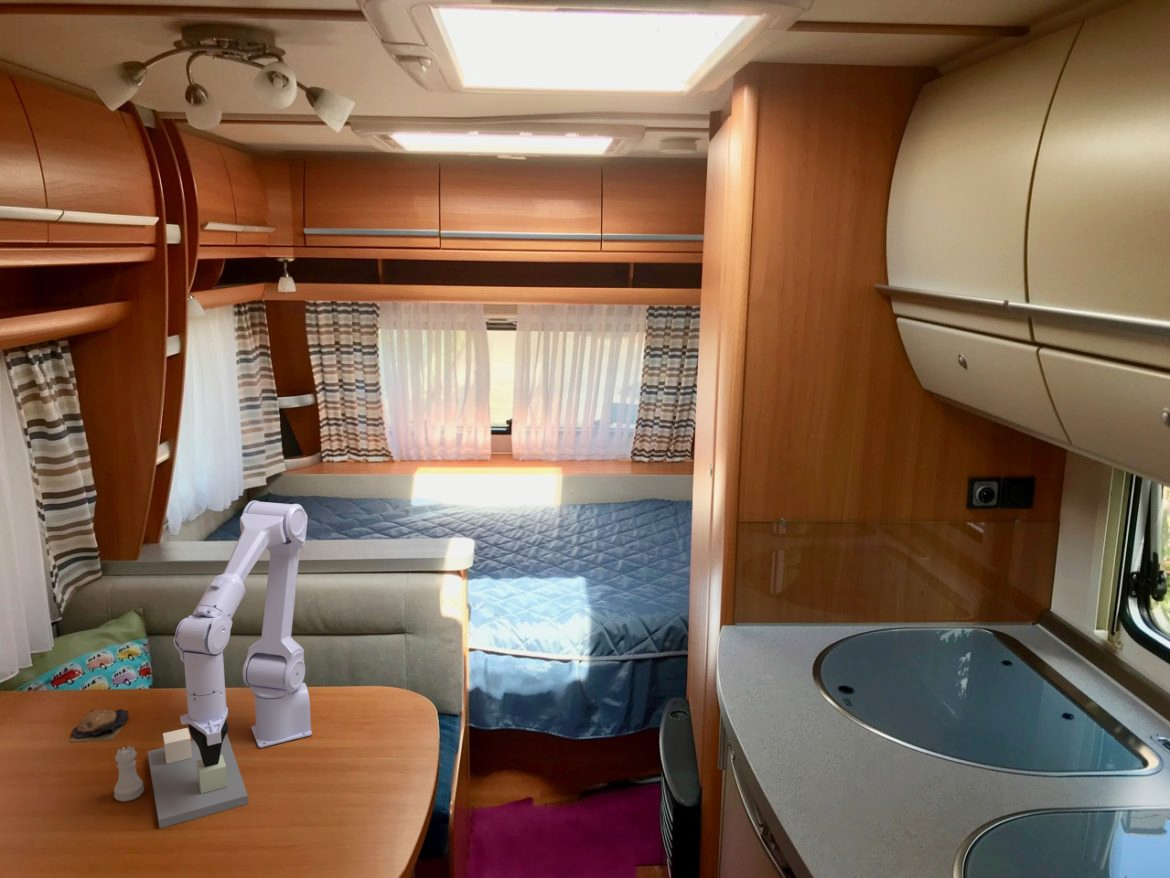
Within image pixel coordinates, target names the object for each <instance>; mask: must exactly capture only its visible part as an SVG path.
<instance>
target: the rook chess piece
mask: <svg viewBox="0 0 1170 878" xmlns="http://www.w3.org/2000/svg"><path fill="white" fill-rule="evenodd" d="M137 755H138V752H137V751H136V750H135V747H134V746H131V745H129V746H127V748H126V747H125V746H123V747H121V749H118V750H117V751H116V755H115V756H114V760H115V761H116V762H117V764H116V767H117V769H118V776H117V777H118V780H117V781H116V784H115V786H114V787H113V788H114V789H113V792H114V793H113V797H114V799H116V800H117V801H119V802H122V803H123V802H126V803H127V802H131V801H133V800H136V799H137V798H139V797H140V796H141V795H142V794H143V793H144V791H145V787H144V782H143V780H142V779H141V777H140V775H138V771H137V769H136V764H137V760H135V758H136V756H137Z"/></svg>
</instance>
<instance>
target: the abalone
mask: <svg viewBox="0 0 1170 878" xmlns="http://www.w3.org/2000/svg"><path fill="white" fill-rule="evenodd" d="M128 712H129V710H124V709H123V708H119V709H117V710H111V709H104V708H103V709H102V708H101V709H96V710H94V709H92V710H91V711H90V712H89V713H87V714H86V715H85V716H84V717H83V718H82V720H81V721H80V723H79V725H77V726H76V727H74V728H73V729H72V737H71V738H70V740H69V742H70V743H72V744H73V743H86V742H87V743H89V742H102V741H103V742H104V741H105V742H107V741H111V740H113V739H114V738H115V737H117V735H118V734H119V732H120V731H121V730H122V729H123V727H124V726H125V725H126V723H127V721H128V720H129V718H130V717H129V713H128Z"/></svg>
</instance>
